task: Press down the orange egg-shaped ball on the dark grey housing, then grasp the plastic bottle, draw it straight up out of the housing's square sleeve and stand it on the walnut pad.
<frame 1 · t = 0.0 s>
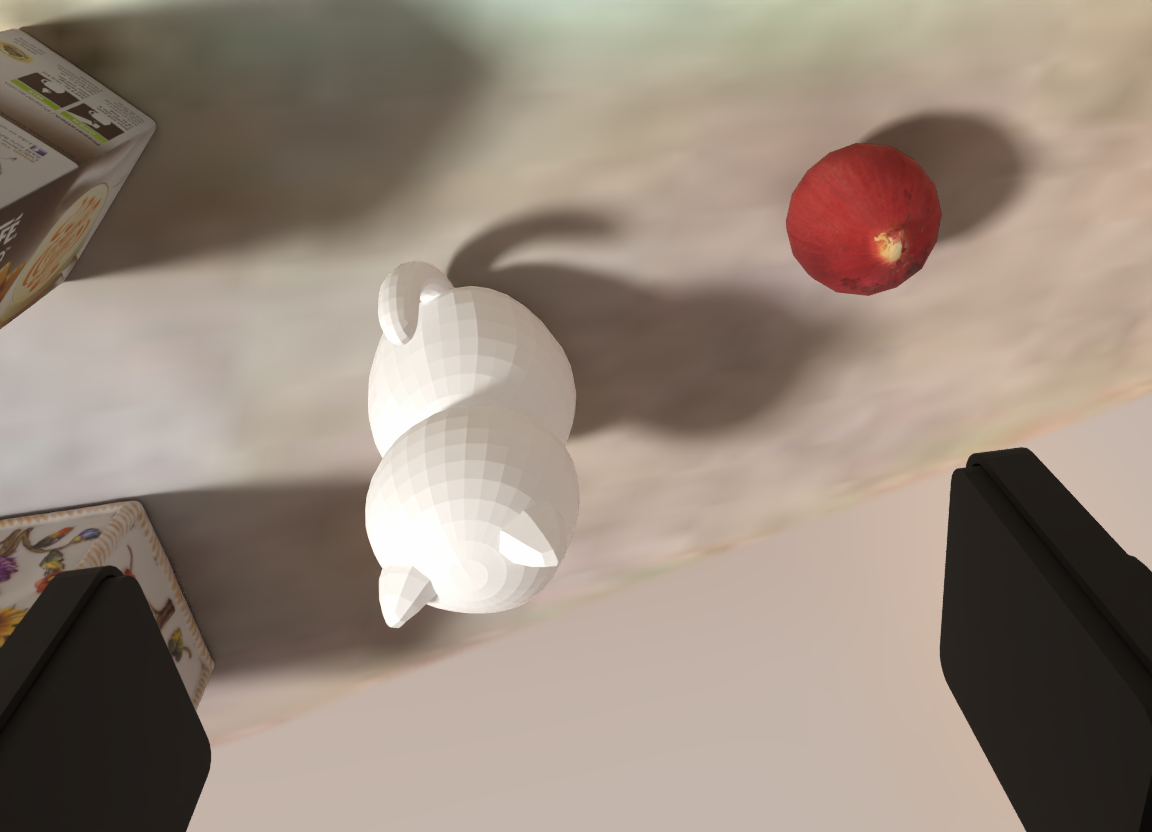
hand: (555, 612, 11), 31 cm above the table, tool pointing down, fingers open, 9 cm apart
onion: (834, 195, 41), on the table
cat figurine: (470, 351, 43), on the table
decorative jar: (79, 598, 49), on the table
coffee box: (42, 163, 39), on the table
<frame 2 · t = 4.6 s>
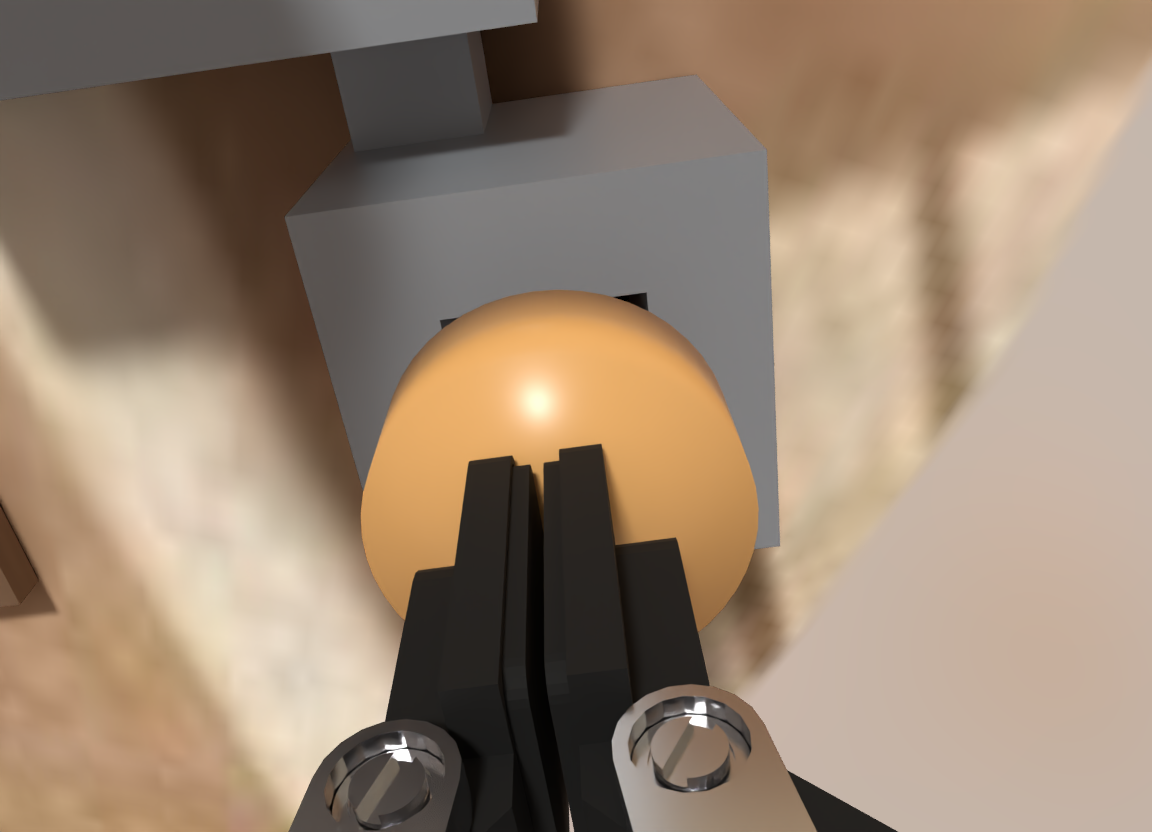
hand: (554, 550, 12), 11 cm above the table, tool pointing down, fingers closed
orange egg-shaped ball: (557, 419, 14), point 8 cm above the table, slide at 0.3 cm, touching gripper
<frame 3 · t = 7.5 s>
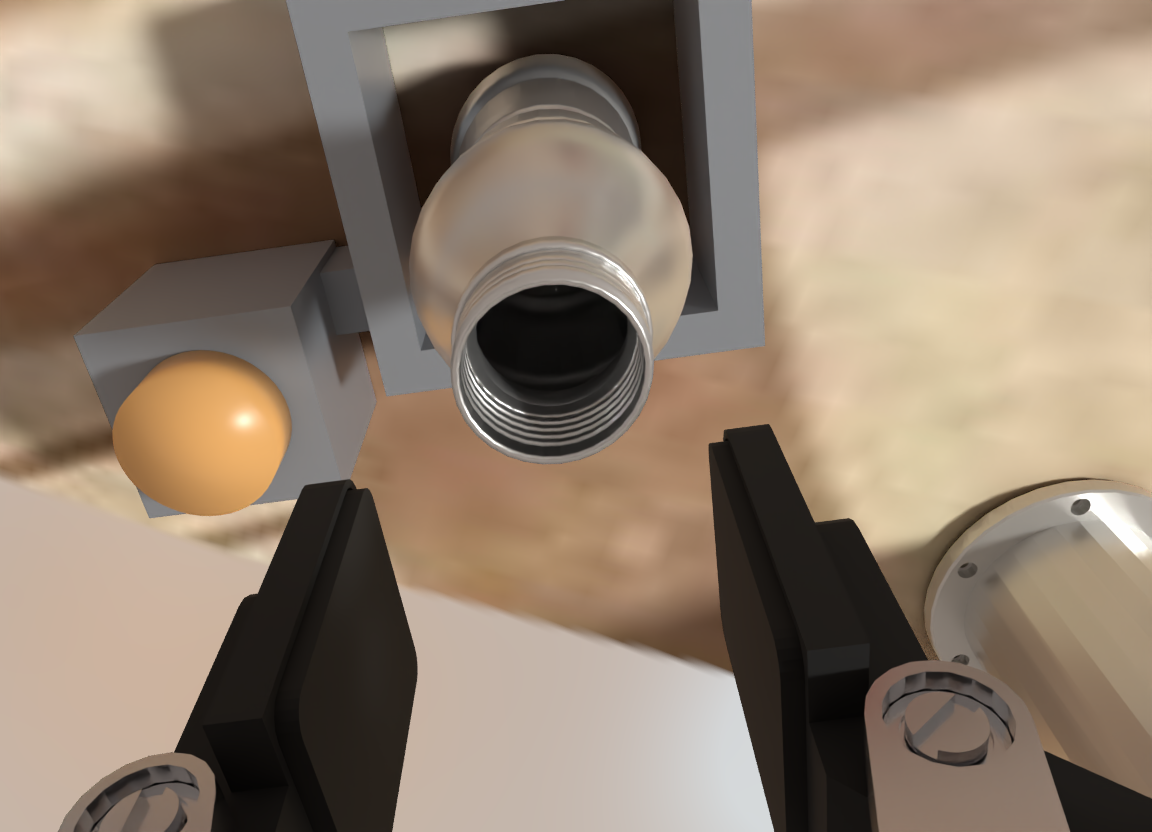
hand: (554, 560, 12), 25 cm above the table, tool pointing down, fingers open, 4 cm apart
plastic bottle: (545, 140, 34), resting in housing
orange egg-shaped ball: (224, 405, 32), point 6 cm above the table, slide at 1.9 cm
housing: (545, 141, 34), on the table
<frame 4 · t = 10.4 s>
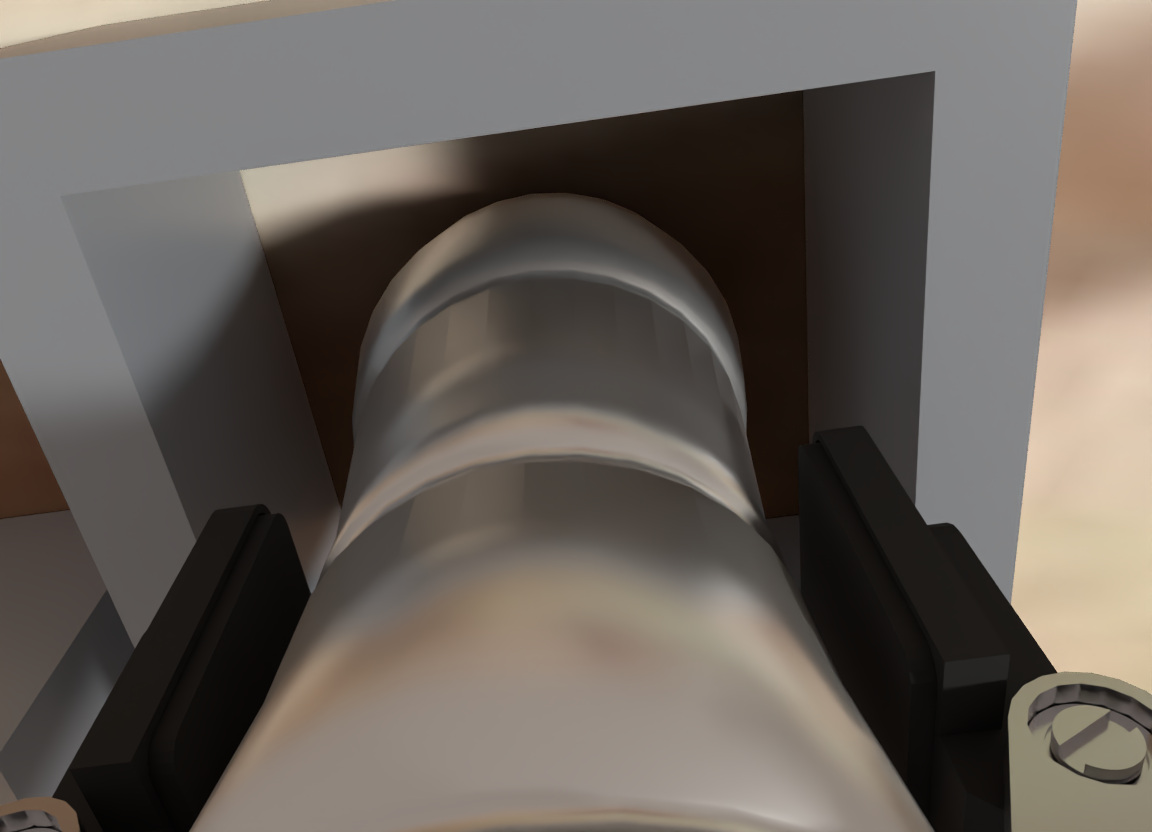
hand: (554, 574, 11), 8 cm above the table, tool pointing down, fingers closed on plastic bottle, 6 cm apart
plastic bottle: (550, 329, 18), resting in housing, touching gripper
housing: (550, 334, 18), on the table
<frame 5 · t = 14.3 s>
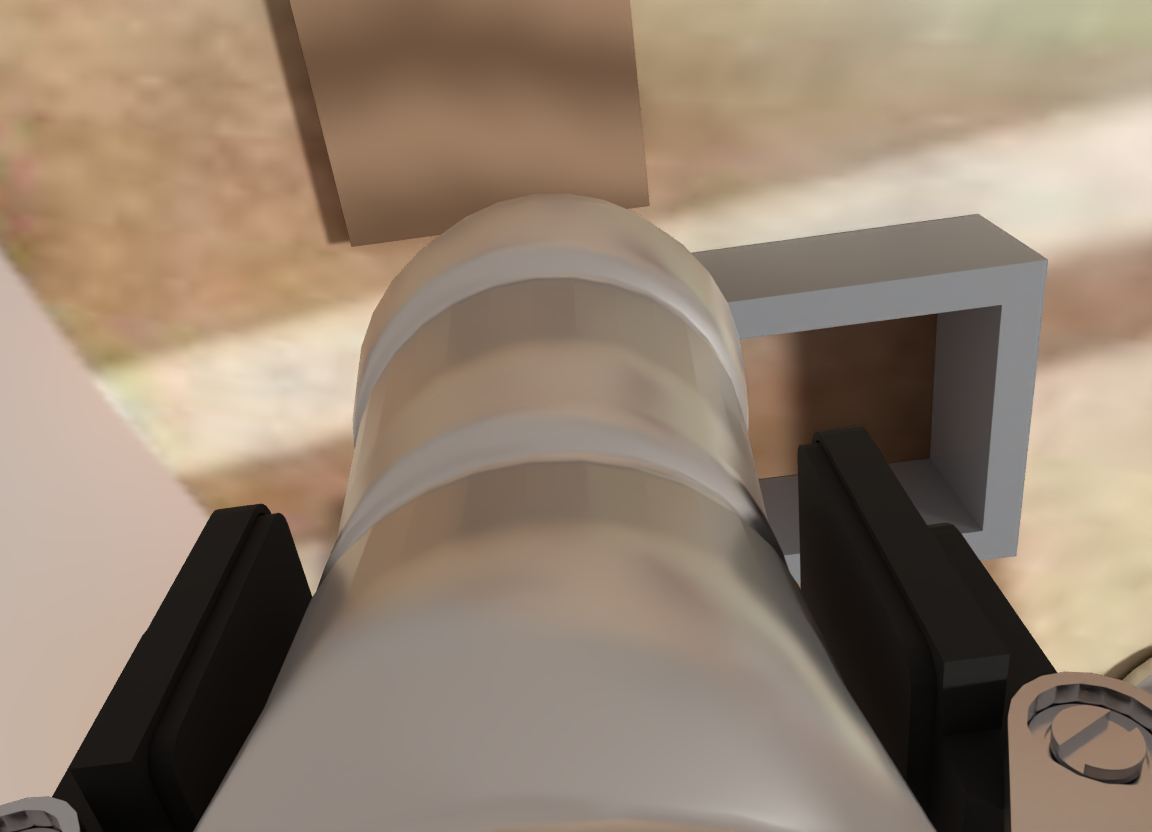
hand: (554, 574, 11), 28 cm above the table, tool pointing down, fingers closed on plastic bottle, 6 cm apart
plastic bottle: (551, 330, 18), point 20 cm above the table, touching gripper
pad: (474, 64, 35), on the table
housing: (822, 376, 42), on the table
when the fingers open (10 cm above the table, at t = 18.5 s): plastic bottle drops 1 cm, resting on pad.
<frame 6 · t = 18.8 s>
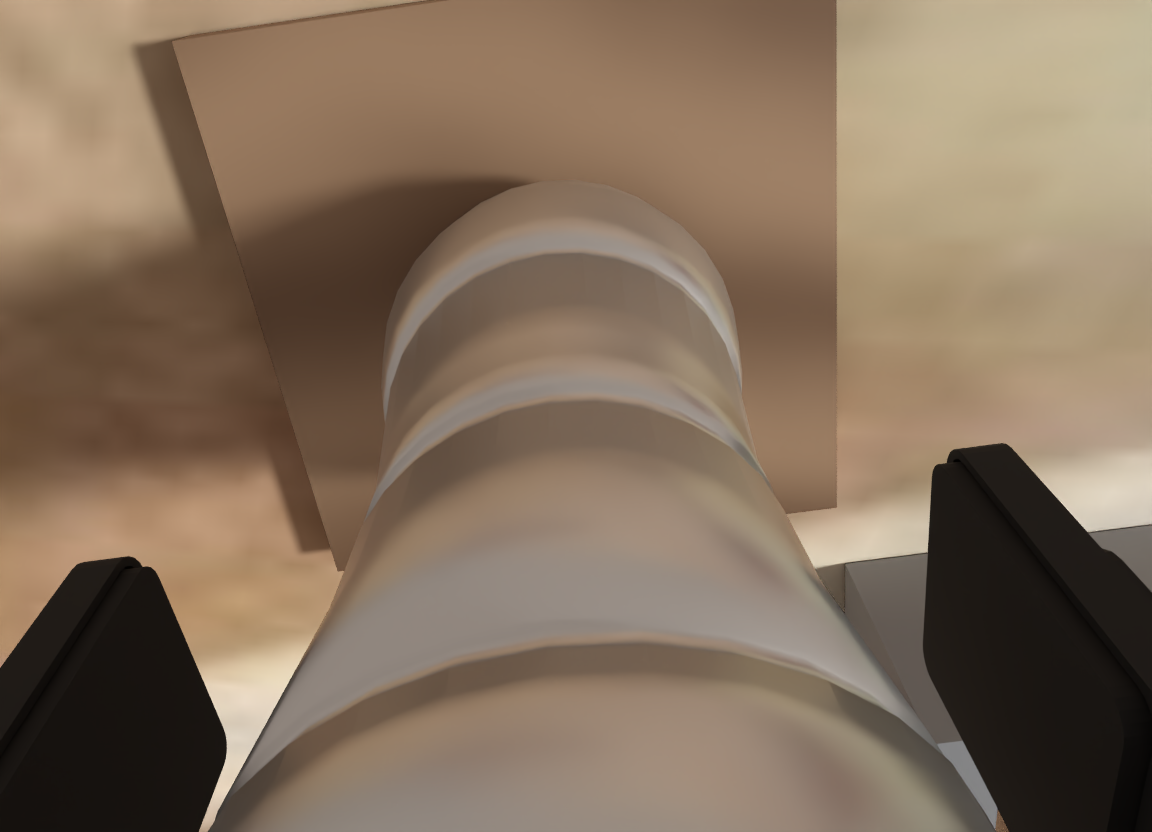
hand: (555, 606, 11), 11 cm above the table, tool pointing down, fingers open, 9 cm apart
plastic bottle: (559, 308, 20), point 1 cm above the table, touching pad
pad: (548, 289, 20), on the table
housing: (1069, 715, 27), on the table
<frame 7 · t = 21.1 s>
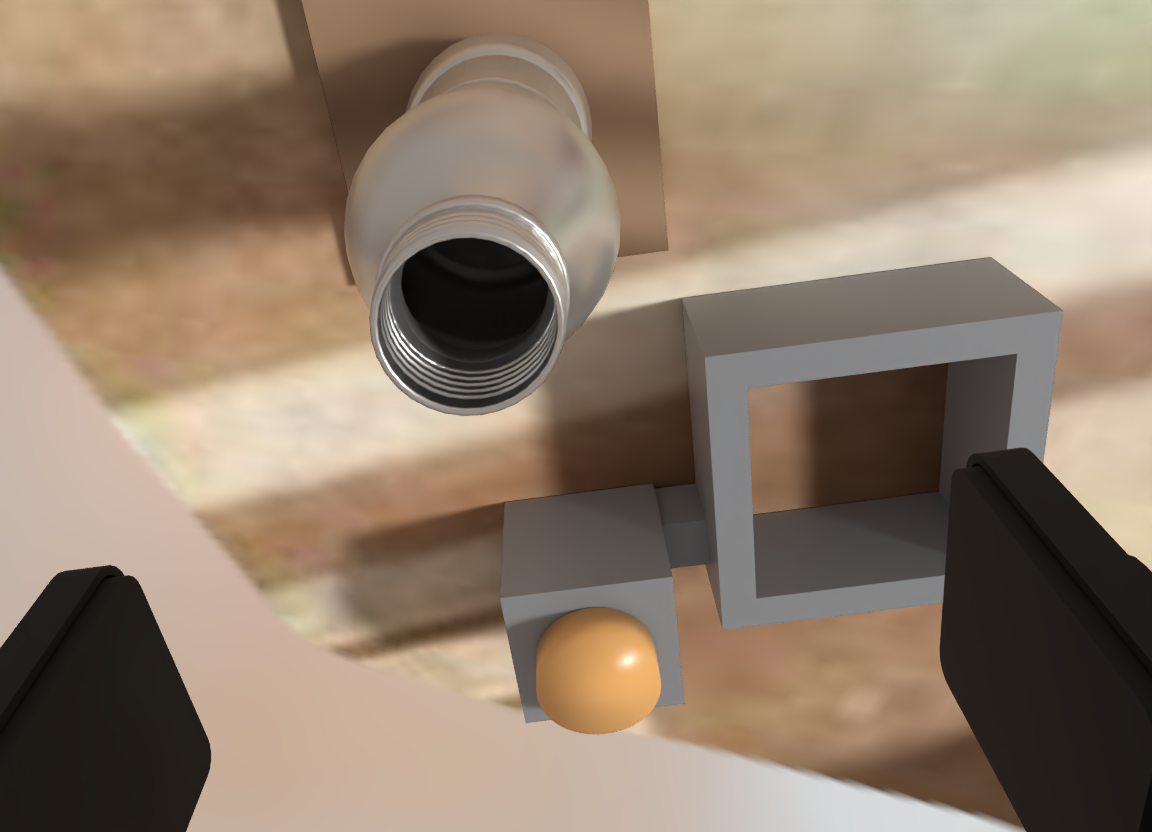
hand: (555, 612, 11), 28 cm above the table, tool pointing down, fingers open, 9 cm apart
plastic bottle: (501, 120, 35), point 1 cm above the table, touching pad
orange egg-shaped ball: (594, 638, 40), point 6 cm above the table, slide at 1.9 cm
pad: (495, 111, 35), on the table
housing: (834, 413, 42), on the table
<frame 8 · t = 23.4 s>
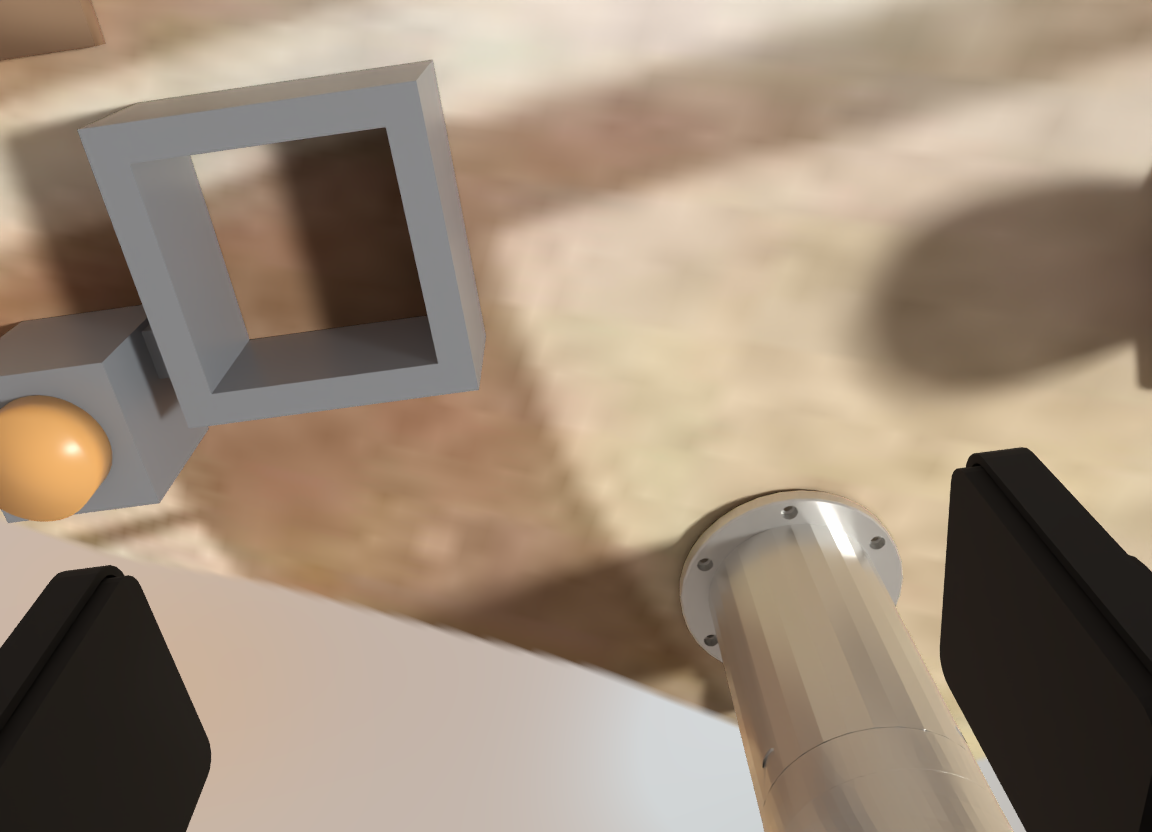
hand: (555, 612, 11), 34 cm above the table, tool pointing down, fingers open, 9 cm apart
orange egg-shaped ball: (62, 435, 41), point 6 cm above the table, slide at 1.9 cm
housing: (323, 227, 43), on the table
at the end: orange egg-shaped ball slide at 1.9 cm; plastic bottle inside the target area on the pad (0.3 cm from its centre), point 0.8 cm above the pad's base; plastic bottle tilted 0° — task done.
